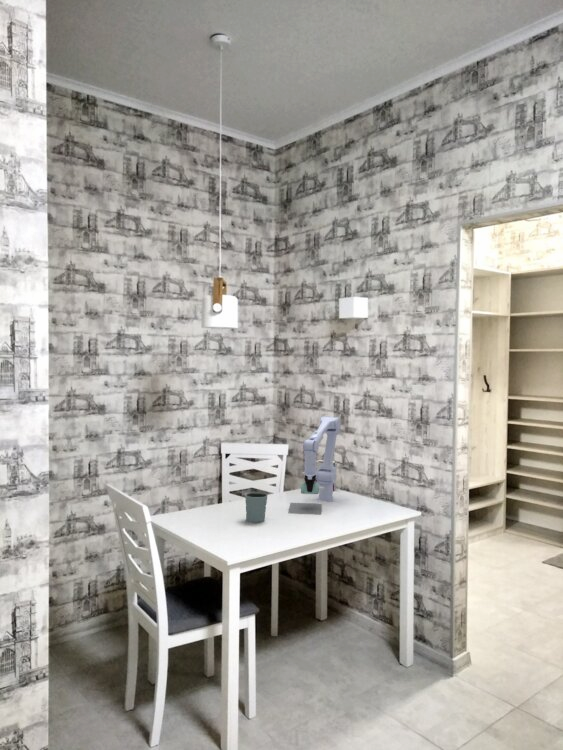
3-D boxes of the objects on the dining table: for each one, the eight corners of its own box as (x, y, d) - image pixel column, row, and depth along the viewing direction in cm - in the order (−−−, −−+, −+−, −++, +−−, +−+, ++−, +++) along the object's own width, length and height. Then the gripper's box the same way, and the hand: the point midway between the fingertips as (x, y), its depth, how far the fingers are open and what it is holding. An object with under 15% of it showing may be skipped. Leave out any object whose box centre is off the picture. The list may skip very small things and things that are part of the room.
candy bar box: (336, 489, 331) (336, 460, 330) (334, 491, 326) (334, 462, 326) (317, 487, 335) (317, 459, 334) (315, 489, 330) (315, 460, 329)
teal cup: (240, 520, 267) (240, 494, 266) (256, 515, 274) (256, 490, 273) (255, 524, 260) (255, 498, 259) (271, 520, 267) (271, 494, 266)
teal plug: (300, 493, 287) (300, 483, 287) (301, 491, 291) (301, 481, 291) (323, 494, 286) (323, 484, 286) (323, 492, 290) (323, 482, 290)
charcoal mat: (290, 503, 297) (290, 502, 297) (321, 504, 296) (321, 503, 296) (287, 514, 278) (287, 513, 278) (321, 515, 276) (321, 514, 276)
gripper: (303, 460, 295) (302, 487, 296) (301, 466, 281) (301, 494, 281) (316, 461, 295) (316, 487, 295) (316, 466, 280) (315, 494, 281)
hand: (309, 490), depth 288 cm, fingers closed on teal plug, 4 cm apart
